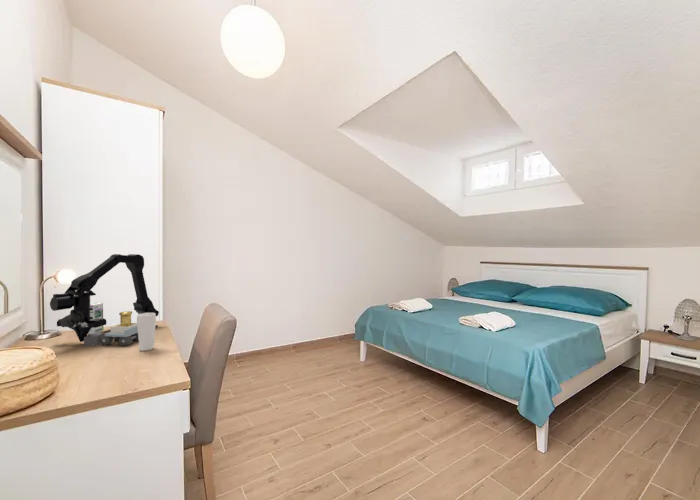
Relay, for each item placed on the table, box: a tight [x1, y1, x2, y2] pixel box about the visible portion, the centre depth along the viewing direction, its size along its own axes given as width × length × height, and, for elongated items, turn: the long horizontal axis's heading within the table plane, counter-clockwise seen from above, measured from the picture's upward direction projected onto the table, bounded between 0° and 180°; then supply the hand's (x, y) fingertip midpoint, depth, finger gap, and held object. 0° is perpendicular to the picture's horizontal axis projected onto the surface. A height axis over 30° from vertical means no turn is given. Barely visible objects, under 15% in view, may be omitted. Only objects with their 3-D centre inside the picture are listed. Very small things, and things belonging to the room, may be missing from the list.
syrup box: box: [84, 302, 104, 335], centre depth 162 cm, size 6×6×14 cm
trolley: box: [99, 326, 139, 347], centre depth 146 cm, size 10×13×7 cm
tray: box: [110, 322, 137, 333], centre depth 147 cm, size 8×8×3 cm
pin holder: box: [98, 329, 111, 336], centre depth 156 cm, size 8×8×2 cm
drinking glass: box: [136, 313, 157, 352], centre depth 137 cm, size 7×7×15 cm
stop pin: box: [118, 310, 133, 327], centre depth 147 cm, size 5×5×8 cm
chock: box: [83, 332, 103, 347], centre depth 144 cm, size 6×5×4 cm
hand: (81, 341), depth 143 cm, fingers closed
